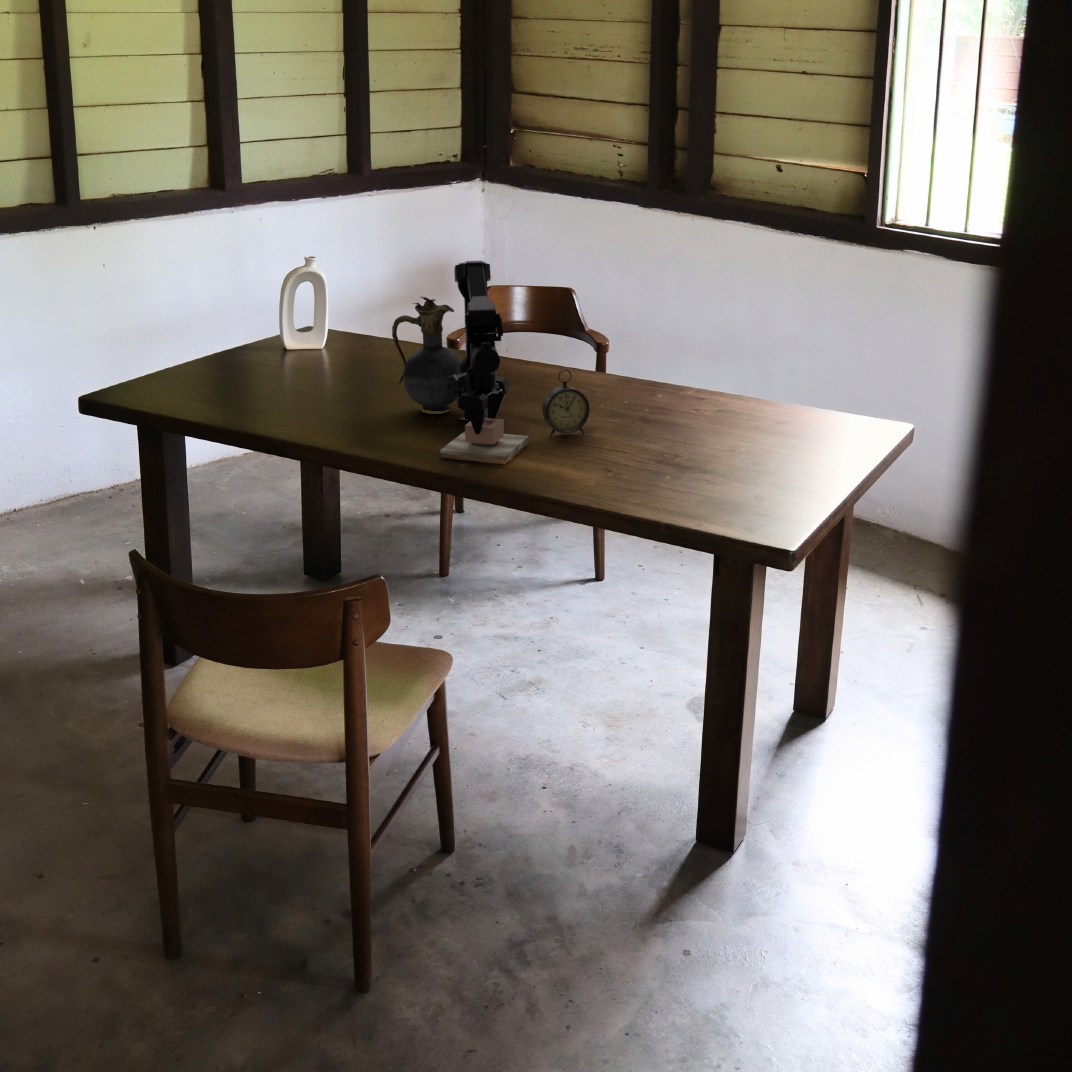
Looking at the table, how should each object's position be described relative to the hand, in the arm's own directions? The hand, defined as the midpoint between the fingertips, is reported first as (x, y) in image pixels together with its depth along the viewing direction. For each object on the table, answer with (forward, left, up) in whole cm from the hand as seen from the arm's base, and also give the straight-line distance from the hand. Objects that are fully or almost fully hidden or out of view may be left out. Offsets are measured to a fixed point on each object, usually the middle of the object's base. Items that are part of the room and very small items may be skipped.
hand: (484, 428), depth 275 cm
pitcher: (-27, -26, -6) cm, 38 cm away
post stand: (0, 0, -6) cm, 6 cm away
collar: (0, 0, -2) cm, 3 cm away
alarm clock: (-18, +14, -6) cm, 24 cm away
